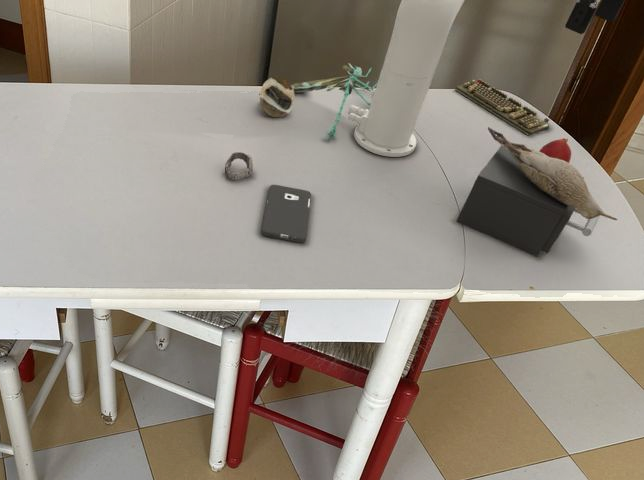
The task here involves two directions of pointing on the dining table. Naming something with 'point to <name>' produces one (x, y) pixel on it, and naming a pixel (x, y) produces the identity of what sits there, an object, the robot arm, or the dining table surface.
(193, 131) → the dining table surface
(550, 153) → the onion
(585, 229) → the drawer
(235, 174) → the wristwatch
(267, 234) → the cell phone
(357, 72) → the insect sculpture
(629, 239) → the dining table surface
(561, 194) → the bird model
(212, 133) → the dining table surface
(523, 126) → the keyboard
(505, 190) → the dark grey box
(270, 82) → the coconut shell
